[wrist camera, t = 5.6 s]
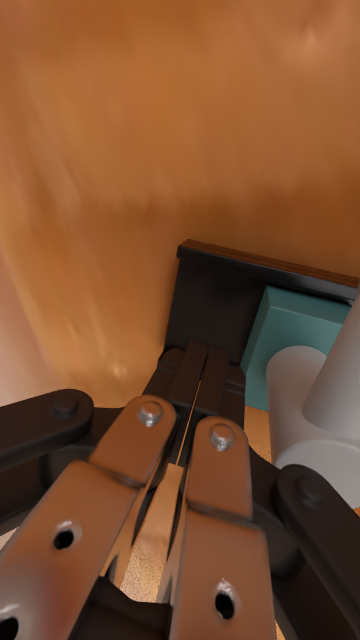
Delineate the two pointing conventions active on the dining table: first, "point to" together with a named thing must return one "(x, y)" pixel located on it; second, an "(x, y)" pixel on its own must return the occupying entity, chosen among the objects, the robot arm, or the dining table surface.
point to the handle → (308, 383)
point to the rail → (236, 294)
